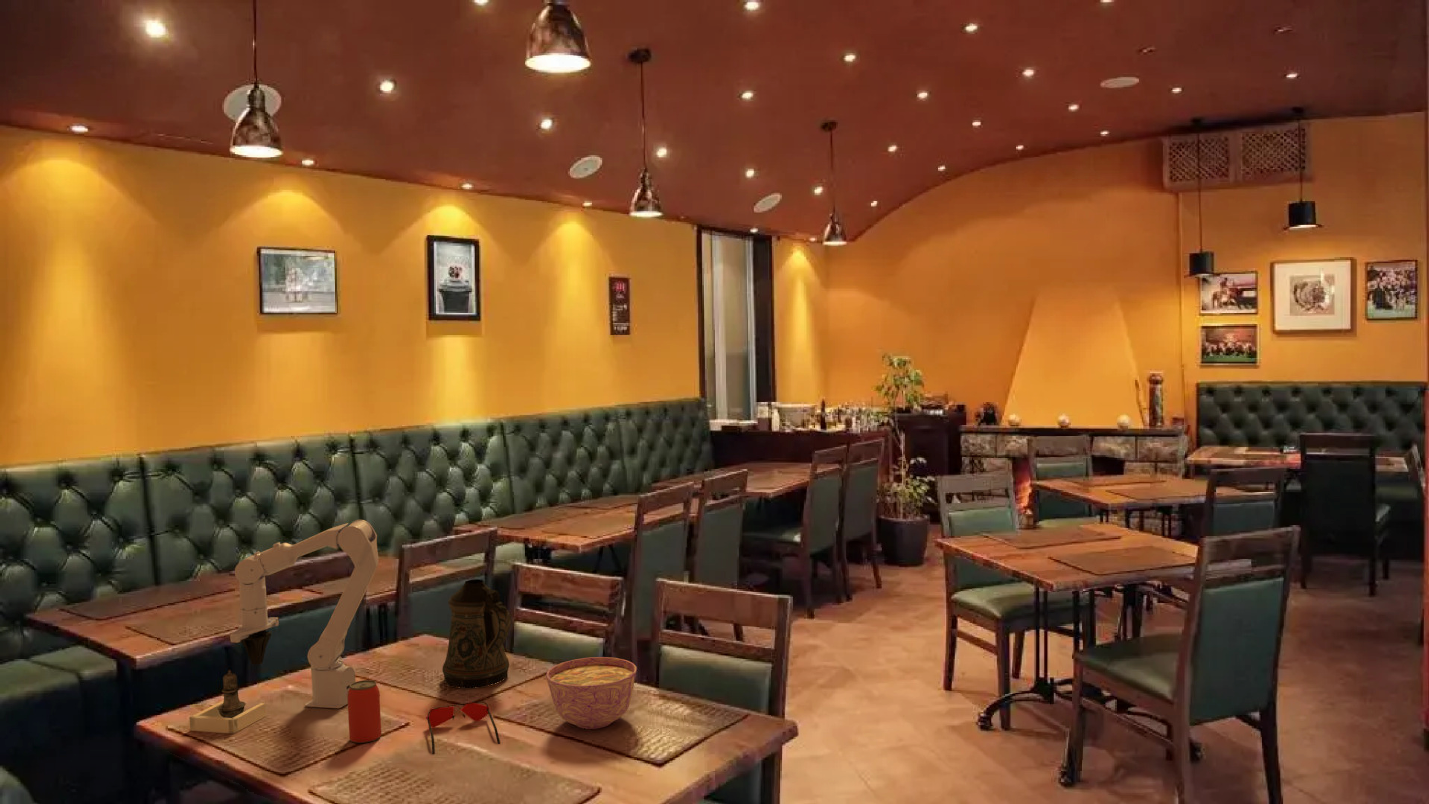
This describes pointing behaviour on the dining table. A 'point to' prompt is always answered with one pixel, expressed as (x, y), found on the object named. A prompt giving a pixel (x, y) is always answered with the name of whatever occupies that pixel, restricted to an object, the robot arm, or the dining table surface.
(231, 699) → the dark bronze turned piece
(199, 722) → the holder
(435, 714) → the glasses
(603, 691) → the bowl of food
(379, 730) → the beer can
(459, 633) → the beer stein
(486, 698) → the dining table surface
